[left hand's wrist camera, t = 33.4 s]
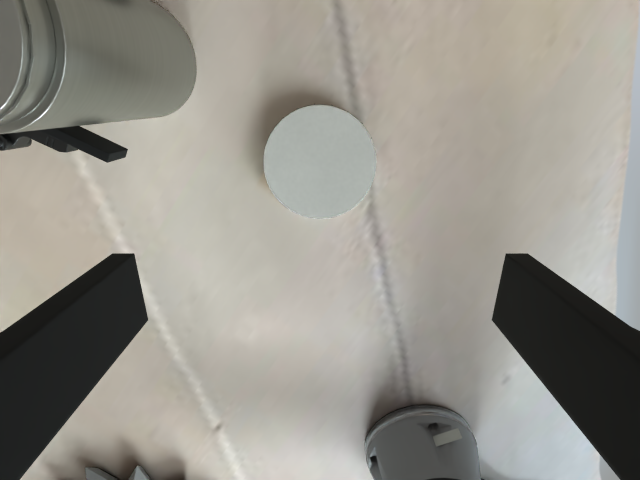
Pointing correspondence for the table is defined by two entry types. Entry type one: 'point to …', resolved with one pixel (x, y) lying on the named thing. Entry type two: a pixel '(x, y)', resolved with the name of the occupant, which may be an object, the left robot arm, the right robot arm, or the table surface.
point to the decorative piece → (96, 476)
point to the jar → (90, 63)
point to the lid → (319, 161)
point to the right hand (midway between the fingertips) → (142, 73)
